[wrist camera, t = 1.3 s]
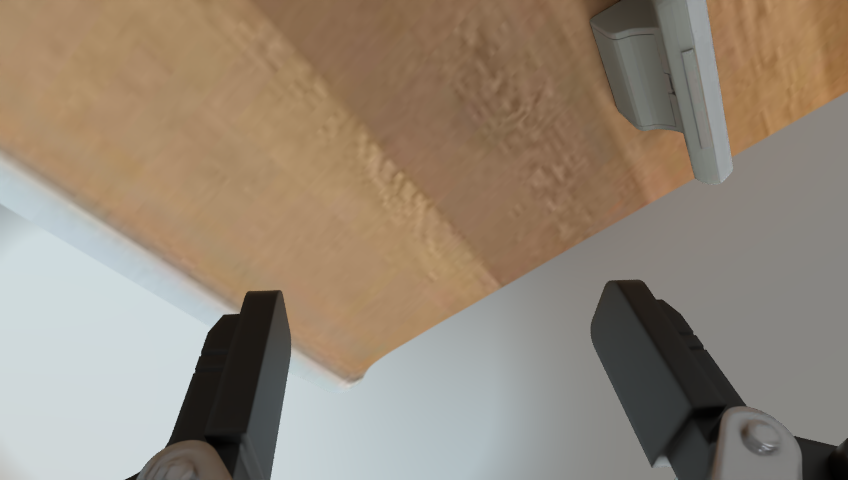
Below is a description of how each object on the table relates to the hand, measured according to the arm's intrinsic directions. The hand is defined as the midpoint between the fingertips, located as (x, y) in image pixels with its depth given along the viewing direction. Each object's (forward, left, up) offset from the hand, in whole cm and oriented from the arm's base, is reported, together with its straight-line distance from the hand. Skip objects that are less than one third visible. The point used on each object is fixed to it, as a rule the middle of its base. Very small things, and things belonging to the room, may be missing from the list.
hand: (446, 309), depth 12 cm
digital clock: (+16, +14, -30) cm, 37 cm away
